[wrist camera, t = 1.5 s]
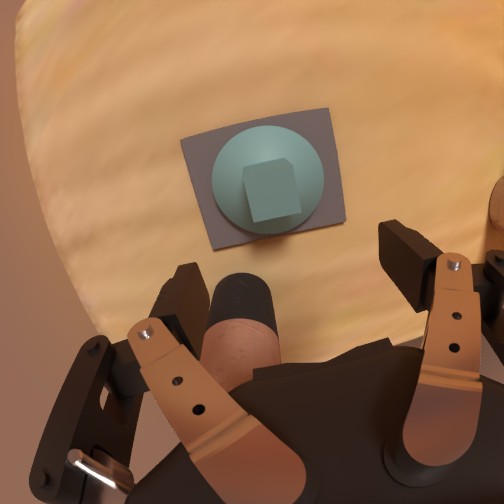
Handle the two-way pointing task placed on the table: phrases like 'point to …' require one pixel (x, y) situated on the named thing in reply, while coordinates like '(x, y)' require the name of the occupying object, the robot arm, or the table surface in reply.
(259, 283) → the travel mug
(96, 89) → the table surface
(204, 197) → the mat
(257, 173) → the lid
